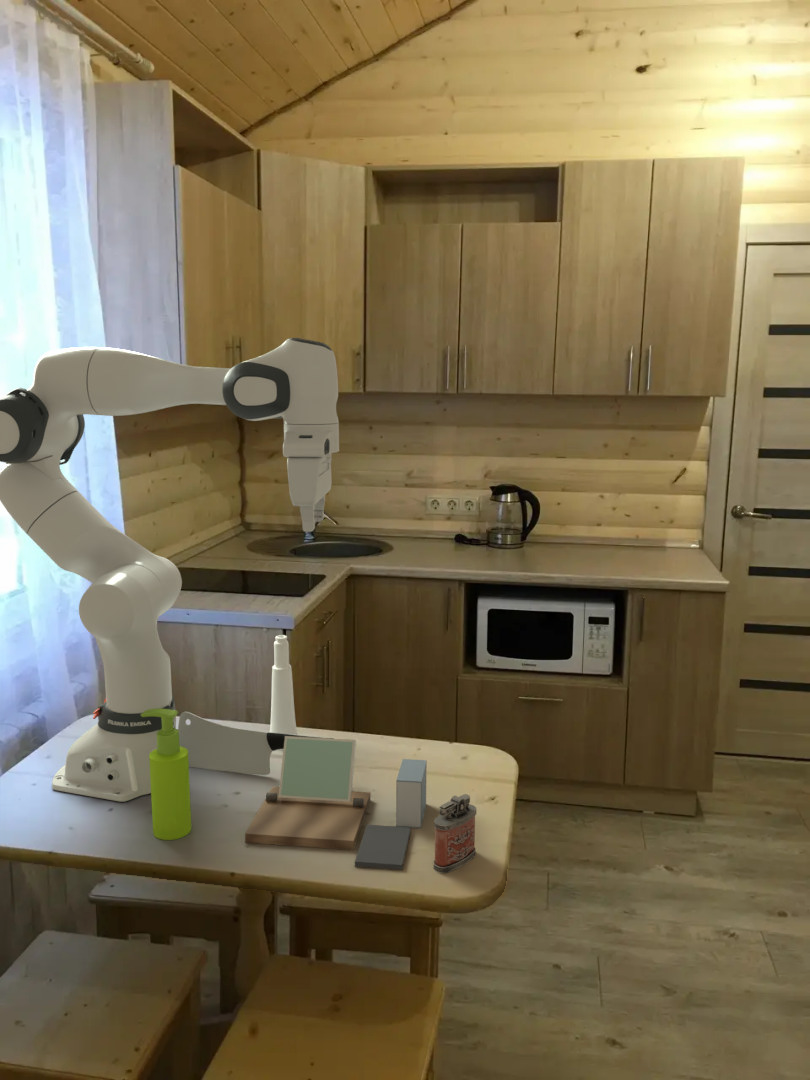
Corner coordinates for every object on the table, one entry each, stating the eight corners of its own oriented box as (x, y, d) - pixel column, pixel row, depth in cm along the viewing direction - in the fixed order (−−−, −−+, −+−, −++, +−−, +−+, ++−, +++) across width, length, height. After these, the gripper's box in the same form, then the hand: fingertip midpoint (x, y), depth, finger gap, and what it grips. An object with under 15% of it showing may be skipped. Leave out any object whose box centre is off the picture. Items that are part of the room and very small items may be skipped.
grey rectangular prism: (396, 826, 143) (396, 780, 142) (402, 803, 151) (402, 758, 150) (421, 828, 143) (421, 781, 141) (426, 804, 151) (426, 760, 149)
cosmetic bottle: (272, 738, 177) (269, 631, 173) (302, 739, 177) (300, 632, 173) (264, 751, 171) (261, 640, 167) (295, 752, 171) (293, 641, 167)
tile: (280, 797, 149) (278, 797, 148) (286, 736, 152) (284, 735, 151) (351, 802, 147) (349, 801, 146) (356, 740, 151) (355, 739, 149)
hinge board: (245, 842, 138) (244, 825, 138) (272, 794, 154) (272, 779, 153) (353, 850, 136) (353, 833, 136) (370, 800, 152) (370, 785, 151)
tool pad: (354, 866, 132) (354, 861, 131) (367, 829, 142) (367, 824, 142) (401, 869, 131) (401, 864, 131) (410, 832, 142) (410, 827, 141)
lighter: (463, 846, 137) (464, 785, 135) (480, 854, 135) (482, 793, 133) (428, 867, 132) (428, 804, 130) (445, 875, 129) (446, 812, 127)
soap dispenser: (156, 819, 145) (150, 702, 141) (197, 823, 144) (192, 705, 140) (140, 837, 139) (133, 716, 136) (182, 841, 138) (177, 719, 135)
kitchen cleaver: (173, 766, 164) (176, 711, 164) (177, 763, 166) (180, 710, 165) (333, 789, 156) (336, 732, 155) (336, 786, 157) (340, 730, 157)
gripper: (303, 436, 154) (304, 515, 157) (280, 446, 134) (282, 536, 137) (339, 436, 154) (340, 515, 157) (322, 446, 134) (323, 537, 137)
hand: (313, 525), depth 147 cm, fingers open, 8 cm apart
